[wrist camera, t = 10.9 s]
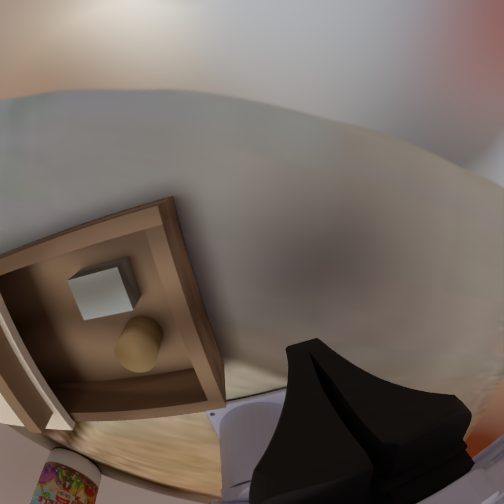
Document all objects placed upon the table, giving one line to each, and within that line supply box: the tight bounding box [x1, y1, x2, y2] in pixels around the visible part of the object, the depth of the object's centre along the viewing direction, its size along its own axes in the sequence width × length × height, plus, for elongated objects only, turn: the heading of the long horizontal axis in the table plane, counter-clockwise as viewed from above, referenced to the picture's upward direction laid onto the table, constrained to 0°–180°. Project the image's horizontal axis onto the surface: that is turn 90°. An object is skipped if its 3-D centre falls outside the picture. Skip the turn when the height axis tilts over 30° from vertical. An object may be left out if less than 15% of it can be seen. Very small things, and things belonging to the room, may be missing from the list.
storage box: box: [0, 197, 226, 421], centre depth 18 cm, size 14×20×5 cm
